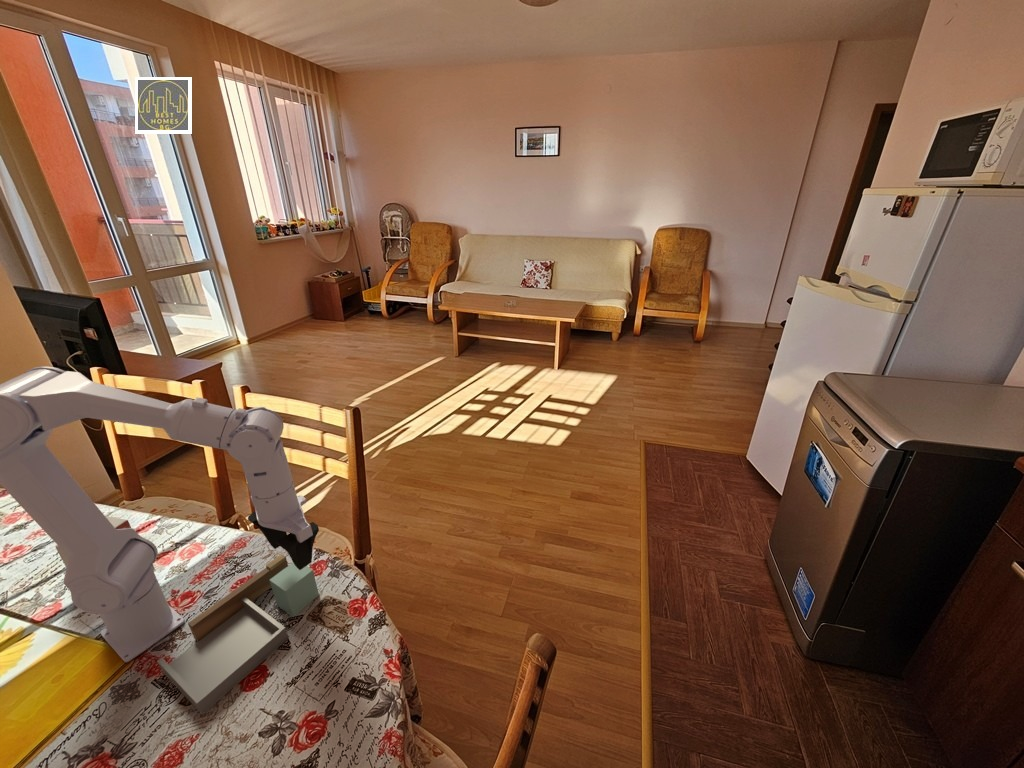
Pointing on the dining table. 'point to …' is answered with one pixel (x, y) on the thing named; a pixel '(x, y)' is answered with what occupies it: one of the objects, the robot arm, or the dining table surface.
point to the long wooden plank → (236, 599)
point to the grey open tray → (225, 656)
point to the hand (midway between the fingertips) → (291, 554)
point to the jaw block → (294, 588)
